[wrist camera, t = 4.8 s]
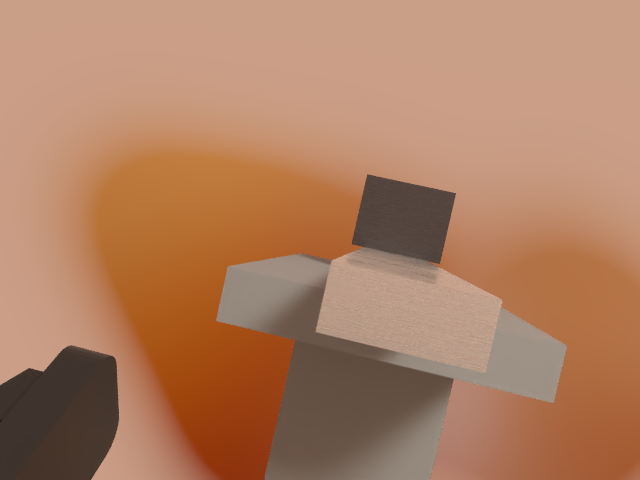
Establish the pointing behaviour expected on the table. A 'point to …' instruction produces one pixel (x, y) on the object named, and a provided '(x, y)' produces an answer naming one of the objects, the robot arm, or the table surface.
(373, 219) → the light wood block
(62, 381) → the robot arm
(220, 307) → the gray stand
